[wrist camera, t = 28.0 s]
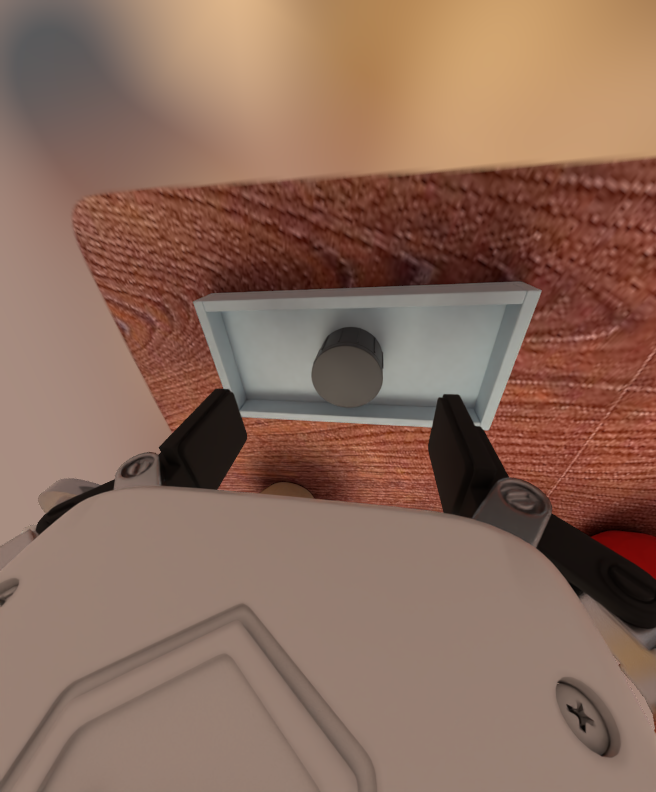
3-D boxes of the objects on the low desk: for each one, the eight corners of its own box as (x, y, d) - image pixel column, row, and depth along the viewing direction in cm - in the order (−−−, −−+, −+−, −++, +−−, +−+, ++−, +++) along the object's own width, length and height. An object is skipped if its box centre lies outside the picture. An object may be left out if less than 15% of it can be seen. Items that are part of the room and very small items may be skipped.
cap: (392, 369, 16) (394, 393, 14) (339, 391, 18) (333, 416, 15) (364, 314, 14) (362, 332, 12) (309, 344, 16) (297, 364, 14)
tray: (244, 401, 20) (233, 416, 19) (211, 293, 16) (192, 301, 14) (478, 411, 17) (489, 431, 16) (521, 281, 13) (542, 289, 11)
